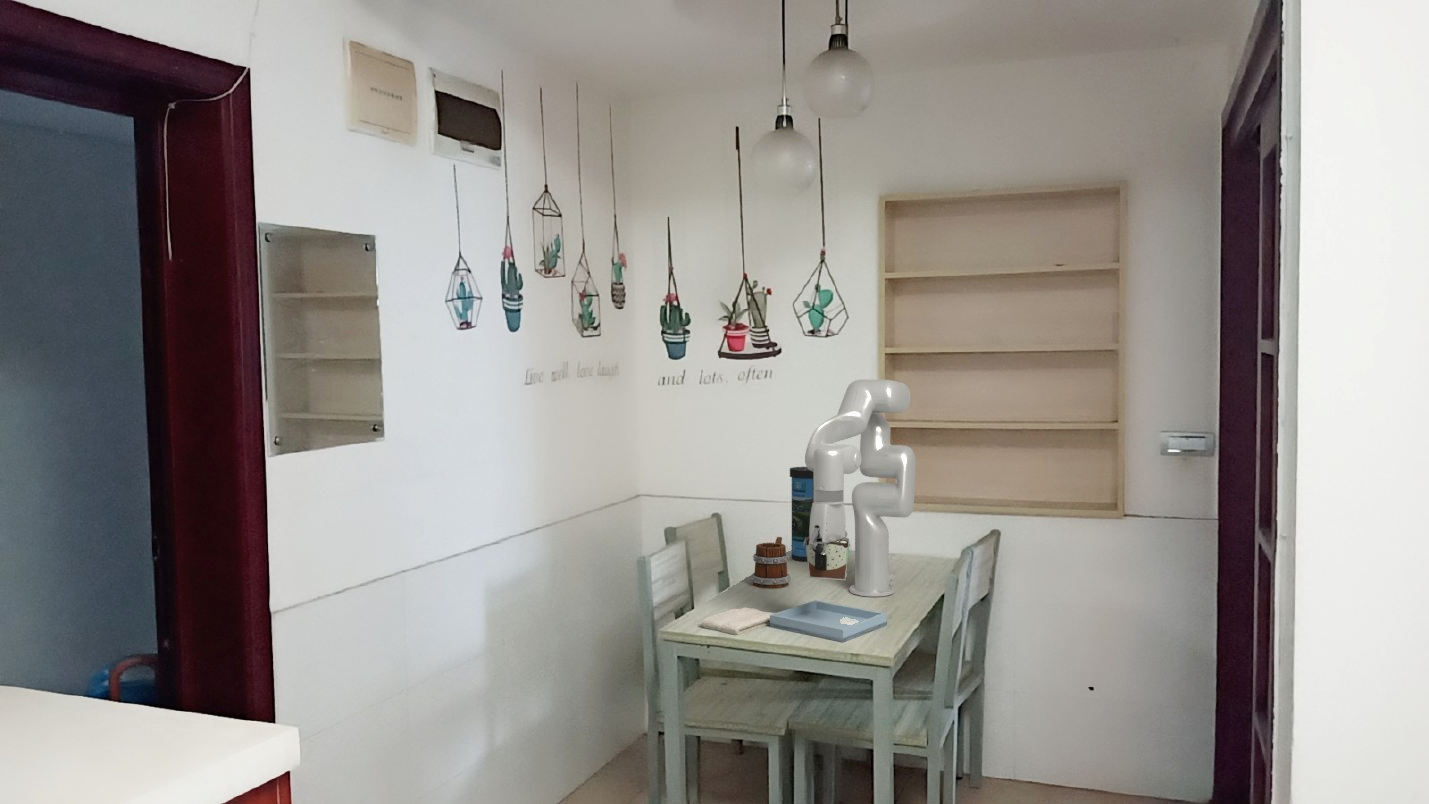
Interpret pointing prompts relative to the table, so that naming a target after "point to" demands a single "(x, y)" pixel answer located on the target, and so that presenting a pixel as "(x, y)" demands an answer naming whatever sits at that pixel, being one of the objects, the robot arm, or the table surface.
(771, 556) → the mug
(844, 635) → the tray
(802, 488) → the advertising column
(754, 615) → the washcloth
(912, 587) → the table surface
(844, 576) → the food container
